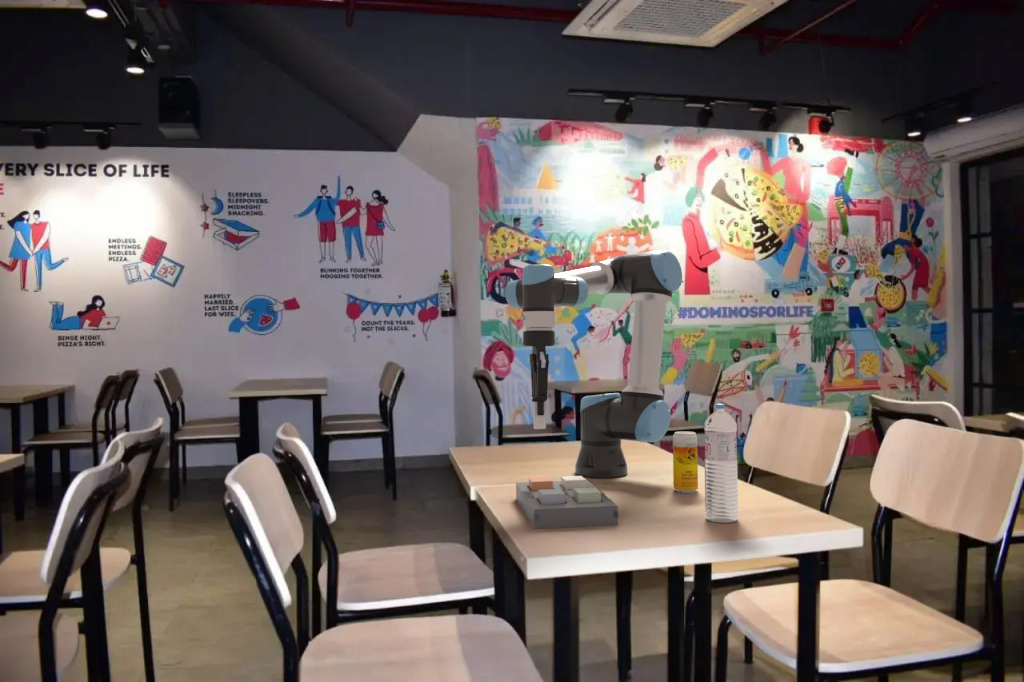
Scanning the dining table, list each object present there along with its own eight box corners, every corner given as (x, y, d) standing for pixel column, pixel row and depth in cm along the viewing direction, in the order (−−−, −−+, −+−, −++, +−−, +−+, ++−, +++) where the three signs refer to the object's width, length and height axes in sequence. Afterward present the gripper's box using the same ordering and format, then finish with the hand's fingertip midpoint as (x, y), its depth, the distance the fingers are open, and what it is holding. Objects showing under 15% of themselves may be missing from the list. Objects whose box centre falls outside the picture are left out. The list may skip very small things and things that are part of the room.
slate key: (560, 502, 161) (560, 488, 161) (565, 507, 156) (564, 493, 156) (538, 503, 161) (538, 489, 161) (542, 508, 156) (542, 494, 156)
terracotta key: (549, 489, 175) (549, 477, 175) (553, 493, 170) (552, 481, 170) (528, 490, 174) (528, 477, 174) (532, 494, 169) (531, 481, 169)
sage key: (595, 500, 162) (595, 487, 162) (601, 506, 157) (600, 492, 157) (573, 501, 162) (573, 488, 162) (578, 506, 157) (578, 493, 157)
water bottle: (733, 525, 151) (731, 406, 151) (701, 521, 155) (699, 404, 155) (741, 518, 157) (740, 403, 157) (710, 514, 161) (709, 402, 161)
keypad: (587, 496, 181) (587, 480, 181) (618, 524, 153) (617, 505, 153) (516, 498, 179) (516, 482, 179) (534, 528, 151) (534, 509, 151)
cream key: (581, 488, 176) (581, 475, 176) (586, 492, 171) (586, 479, 171) (561, 488, 175) (561, 476, 175) (565, 493, 170) (565, 480, 170)
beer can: (684, 494, 181) (683, 434, 181) (668, 490, 186) (667, 432, 186) (703, 491, 184) (702, 433, 184) (686, 487, 189) (686, 430, 189)
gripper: (519, 330, 178) (520, 425, 178) (527, 329, 165) (528, 432, 165) (549, 329, 179) (550, 425, 179) (559, 329, 166) (560, 431, 166)
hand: (539, 428), depth 172 cm, fingers closed
